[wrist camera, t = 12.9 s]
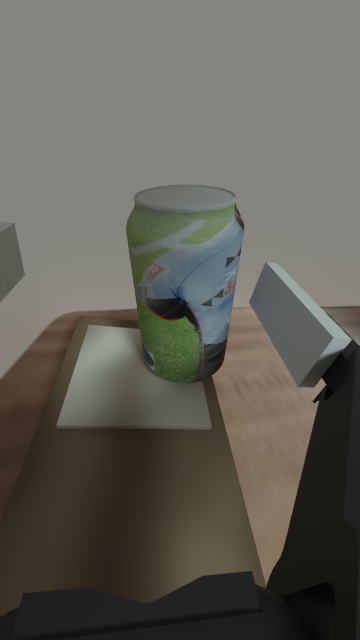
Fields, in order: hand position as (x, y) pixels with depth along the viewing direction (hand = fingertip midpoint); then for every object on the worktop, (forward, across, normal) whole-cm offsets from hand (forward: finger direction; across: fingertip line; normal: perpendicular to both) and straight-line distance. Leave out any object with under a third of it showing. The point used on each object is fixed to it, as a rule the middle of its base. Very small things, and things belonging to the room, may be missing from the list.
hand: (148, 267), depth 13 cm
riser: (-4, 0, -13) cm, 14 cm away
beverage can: (+1, +3, -8) cm, 8 cm away
